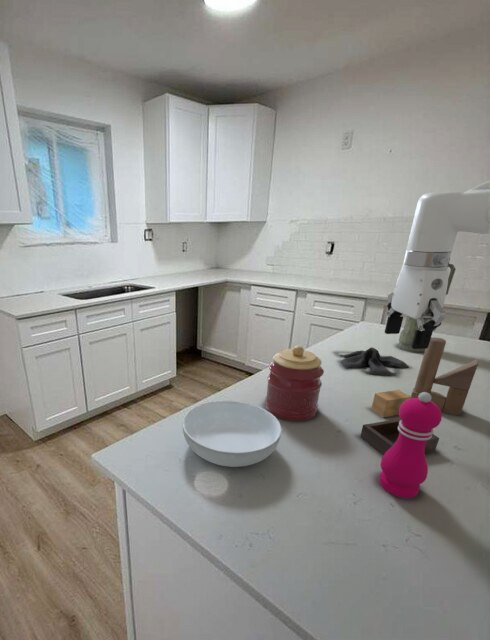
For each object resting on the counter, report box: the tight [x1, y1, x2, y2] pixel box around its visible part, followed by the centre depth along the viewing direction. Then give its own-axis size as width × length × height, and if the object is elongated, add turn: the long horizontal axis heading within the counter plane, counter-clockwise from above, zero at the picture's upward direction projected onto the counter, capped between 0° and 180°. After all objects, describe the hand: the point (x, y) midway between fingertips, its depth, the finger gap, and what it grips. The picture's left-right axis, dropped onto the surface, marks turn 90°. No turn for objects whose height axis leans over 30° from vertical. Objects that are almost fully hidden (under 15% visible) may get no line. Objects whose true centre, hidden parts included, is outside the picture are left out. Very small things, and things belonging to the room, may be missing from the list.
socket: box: [360, 418, 440, 456], centre depth 79 cm, size 12×8×4 cm
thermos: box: [397, 258, 456, 353], centre depth 124 cm, size 9×12×35 cm
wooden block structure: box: [410, 336, 479, 416], centre depth 90 cm, size 4×11×18 cm, turn 52°
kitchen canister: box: [264, 345, 325, 422], centre depth 91 cm, size 13×13×18 cm
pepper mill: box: [378, 392, 443, 499], centre depth 64 cm, size 7×7×20 cm
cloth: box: [339, 347, 409, 377], centre depth 119 cm, size 22×19×6 cm
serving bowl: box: [181, 400, 283, 468], centre depth 78 cm, size 21×21×7 cm
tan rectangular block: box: [370, 389, 411, 418], centre depth 91 cm, size 7×4×5 cm, turn 103°
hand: (404, 340), depth 80 cm, fingers open, 9 cm apart
